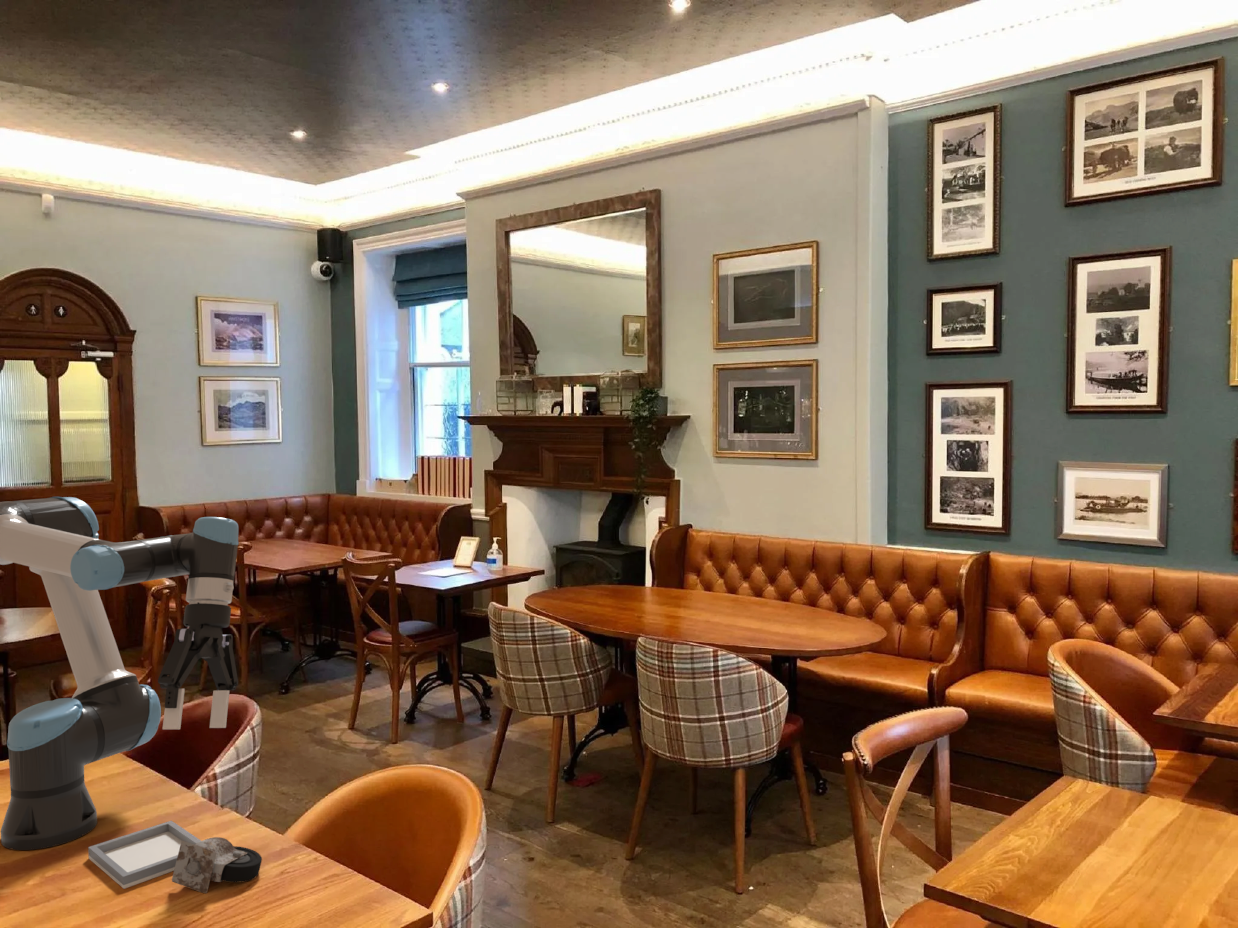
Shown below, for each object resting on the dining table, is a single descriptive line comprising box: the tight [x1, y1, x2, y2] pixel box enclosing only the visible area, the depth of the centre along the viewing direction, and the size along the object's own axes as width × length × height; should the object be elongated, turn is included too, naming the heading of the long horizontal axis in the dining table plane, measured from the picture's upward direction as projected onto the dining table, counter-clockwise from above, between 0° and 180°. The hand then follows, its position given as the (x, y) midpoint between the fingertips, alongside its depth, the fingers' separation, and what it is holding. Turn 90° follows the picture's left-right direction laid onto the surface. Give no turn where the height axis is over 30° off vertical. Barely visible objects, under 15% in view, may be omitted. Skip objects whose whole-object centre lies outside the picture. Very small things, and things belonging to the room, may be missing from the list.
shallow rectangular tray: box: [87, 820, 202, 889], centre depth 160 cm, size 16×14×2 cm
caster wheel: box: [171, 836, 263, 894], centre depth 152 cm, size 7×11×10 cm
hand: (195, 728), depth 158 cm, fingers open, 13 cm apart
